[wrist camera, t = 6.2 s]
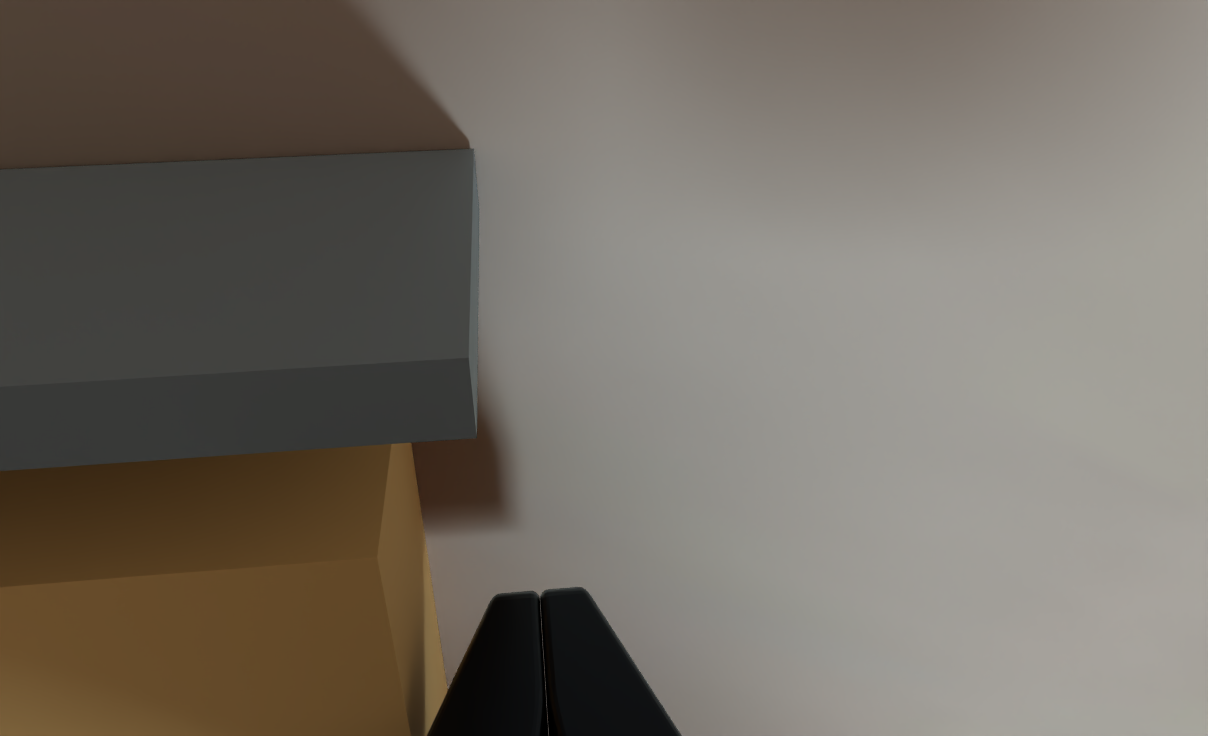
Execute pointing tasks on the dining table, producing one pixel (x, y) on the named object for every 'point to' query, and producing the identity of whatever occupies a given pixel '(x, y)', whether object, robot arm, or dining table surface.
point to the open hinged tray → (237, 306)
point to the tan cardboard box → (219, 597)
